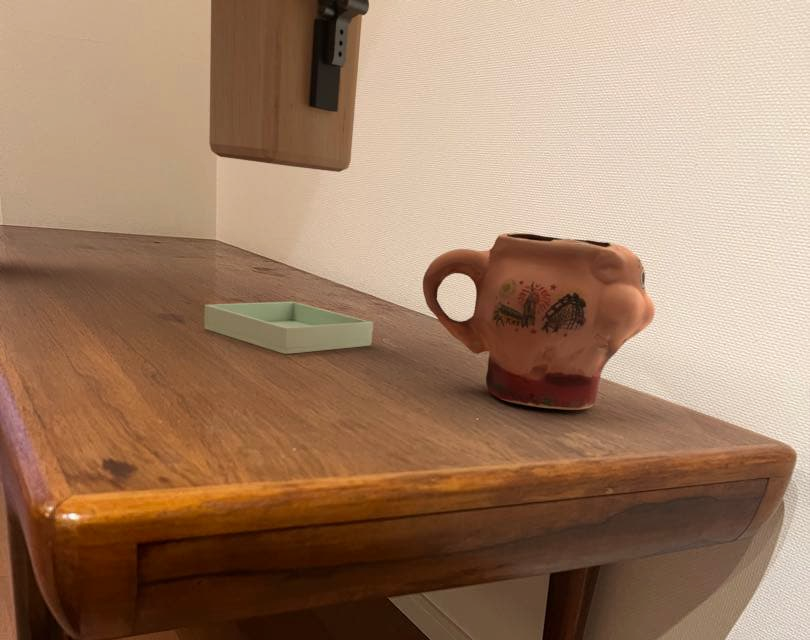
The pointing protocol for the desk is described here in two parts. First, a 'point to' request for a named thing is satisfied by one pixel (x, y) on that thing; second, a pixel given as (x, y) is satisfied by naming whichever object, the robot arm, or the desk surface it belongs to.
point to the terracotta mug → (546, 313)
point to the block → (276, 86)
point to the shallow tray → (288, 326)
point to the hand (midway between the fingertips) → (282, 106)
